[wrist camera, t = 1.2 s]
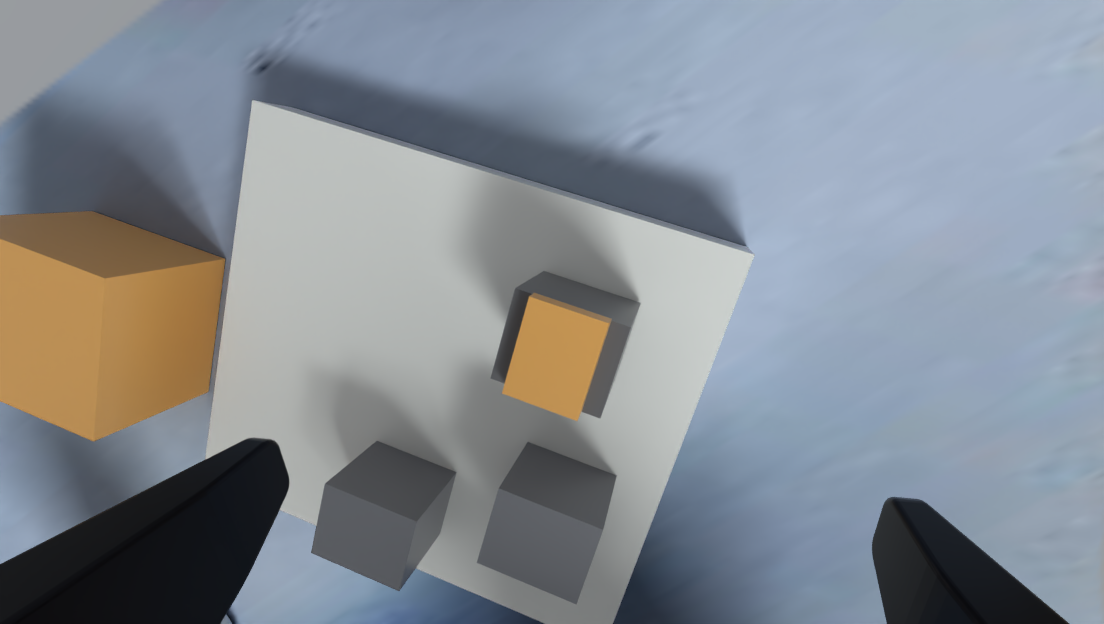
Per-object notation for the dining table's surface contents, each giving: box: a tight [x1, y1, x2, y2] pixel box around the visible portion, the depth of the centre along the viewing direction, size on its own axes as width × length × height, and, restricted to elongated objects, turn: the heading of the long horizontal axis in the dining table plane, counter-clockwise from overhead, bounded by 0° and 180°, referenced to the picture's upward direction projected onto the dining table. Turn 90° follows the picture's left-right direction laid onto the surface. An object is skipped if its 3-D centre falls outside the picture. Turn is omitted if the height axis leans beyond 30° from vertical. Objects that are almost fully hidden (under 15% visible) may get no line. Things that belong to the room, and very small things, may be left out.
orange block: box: [0, 211, 225, 441], centre depth 21 cm, size 6×6×5 cm
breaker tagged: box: [490, 271, 641, 421], centre depth 16 cm, size 3×3×4 cm
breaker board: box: [205, 100, 754, 624], centre depth 19 cm, size 16×14×5 cm
